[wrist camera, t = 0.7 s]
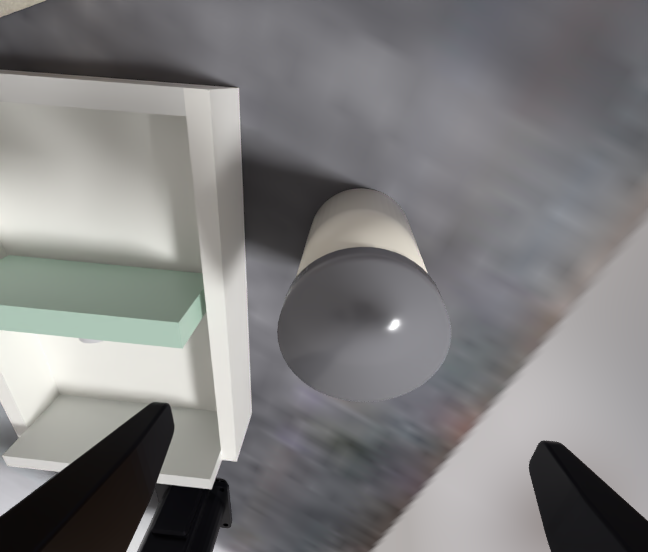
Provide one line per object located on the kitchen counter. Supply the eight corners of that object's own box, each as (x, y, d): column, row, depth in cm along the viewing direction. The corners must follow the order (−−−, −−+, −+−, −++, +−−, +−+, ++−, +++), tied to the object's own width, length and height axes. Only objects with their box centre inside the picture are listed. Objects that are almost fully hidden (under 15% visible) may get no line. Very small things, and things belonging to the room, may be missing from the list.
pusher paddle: (217, 319, 22) (186, 374, 18) (26, 300, 23) (-48, 349, 18) (213, 274, 21) (178, 322, 17) (9, 255, 21) (-75, 297, 17)
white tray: (251, 413, 28) (227, 491, 22) (59, 392, 28) (-8, 464, 23) (239, 87, 17) (187, 90, 12) (-66, 64, 18) (-243, 57, 13)
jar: (402, 286, 22) (431, 409, 14) (305, 277, 22) (276, 393, 14) (421, 190, 19) (471, 272, 11) (310, 180, 19) (277, 254, 11)
